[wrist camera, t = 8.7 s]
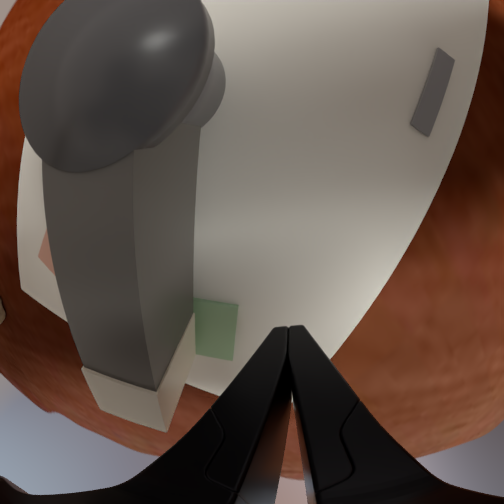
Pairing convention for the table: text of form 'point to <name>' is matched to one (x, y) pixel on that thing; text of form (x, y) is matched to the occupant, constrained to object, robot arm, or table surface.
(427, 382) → the table surface
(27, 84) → the grey round-headed bar
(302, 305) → the board
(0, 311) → the handle
